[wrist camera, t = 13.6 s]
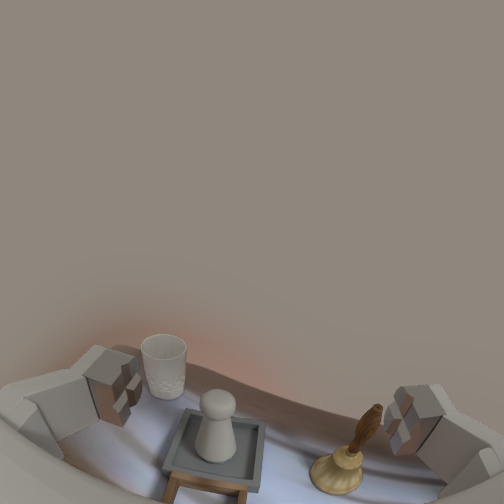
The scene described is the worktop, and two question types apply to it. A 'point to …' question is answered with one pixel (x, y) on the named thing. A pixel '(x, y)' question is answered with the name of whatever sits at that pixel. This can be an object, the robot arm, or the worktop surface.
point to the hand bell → (346, 459)
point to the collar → (202, 487)
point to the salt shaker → (216, 427)
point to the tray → (234, 469)
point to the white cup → (164, 365)
